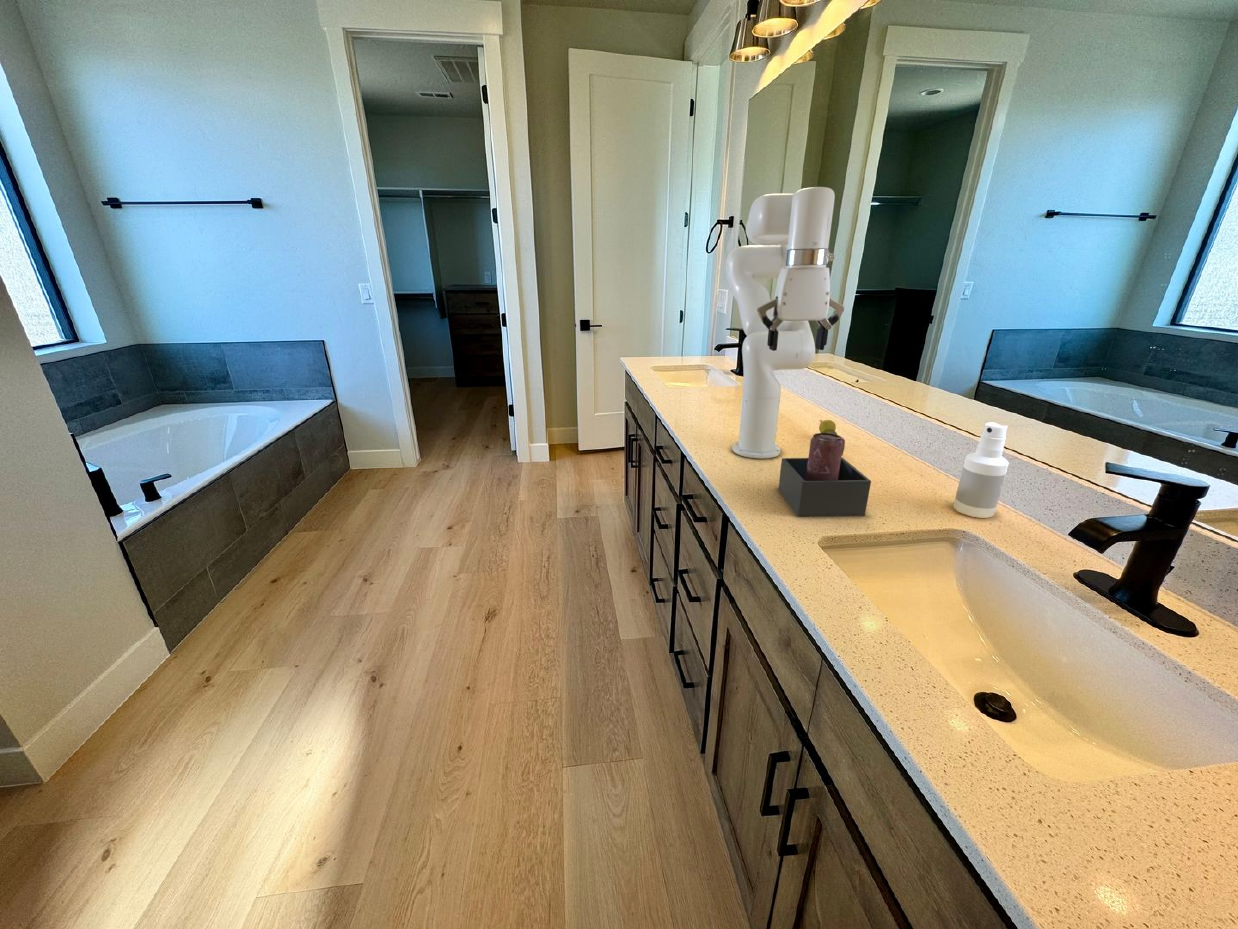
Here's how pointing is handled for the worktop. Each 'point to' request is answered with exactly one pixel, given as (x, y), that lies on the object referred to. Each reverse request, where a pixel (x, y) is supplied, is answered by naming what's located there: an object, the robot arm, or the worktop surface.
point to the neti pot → (827, 427)
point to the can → (824, 457)
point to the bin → (823, 490)
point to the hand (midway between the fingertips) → (796, 349)
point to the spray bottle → (983, 474)
